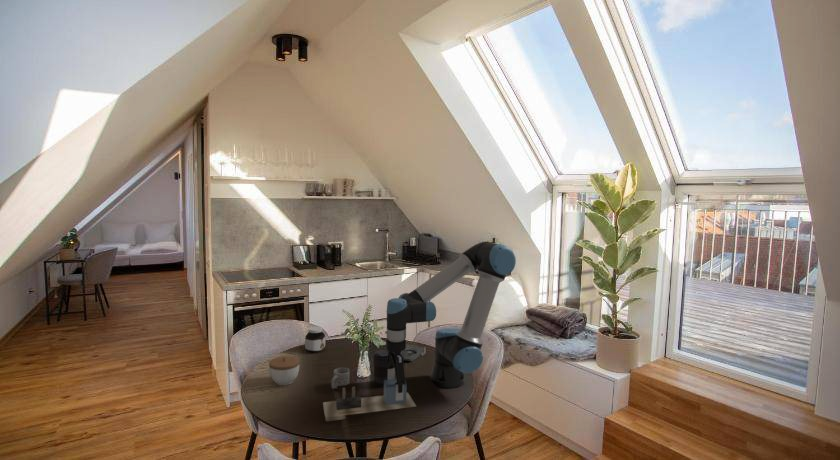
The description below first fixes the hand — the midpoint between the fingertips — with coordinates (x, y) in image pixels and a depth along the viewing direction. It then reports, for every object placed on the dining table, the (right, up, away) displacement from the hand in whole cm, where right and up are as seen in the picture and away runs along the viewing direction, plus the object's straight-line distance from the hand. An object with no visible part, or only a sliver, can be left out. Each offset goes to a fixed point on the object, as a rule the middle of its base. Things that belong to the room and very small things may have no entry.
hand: (394, 392), depth 176 cm
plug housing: (0, -4, 0) cm, 4 cm away
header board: (-10, -5, -3) cm, 11 cm away
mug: (-24, -4, +15) cm, 29 cm away
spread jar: (-45, +1, +58) cm, 74 cm away
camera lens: (-6, -4, +16) cm, 18 cm away
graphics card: (+4, -1, +52) cm, 52 cm away
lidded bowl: (-49, -3, +19) cm, 52 cm away
